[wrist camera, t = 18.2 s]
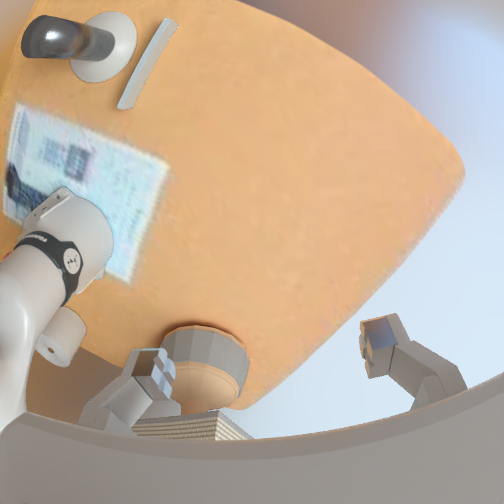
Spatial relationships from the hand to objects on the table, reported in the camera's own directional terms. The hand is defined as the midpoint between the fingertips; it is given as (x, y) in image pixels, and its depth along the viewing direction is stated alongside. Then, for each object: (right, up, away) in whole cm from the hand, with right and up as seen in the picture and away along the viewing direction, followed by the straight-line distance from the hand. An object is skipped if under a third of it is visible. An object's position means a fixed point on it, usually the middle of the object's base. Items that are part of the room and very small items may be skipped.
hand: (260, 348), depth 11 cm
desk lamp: (-10, -17, +48) cm, 52 cm away
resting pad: (-23, +34, +19) cm, 45 cm away
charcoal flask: (-23, +34, +19) cm, 45 cm away
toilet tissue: (-45, -13, +47) cm, 66 cm away
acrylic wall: (-14, +30, +21) cm, 40 cm away
